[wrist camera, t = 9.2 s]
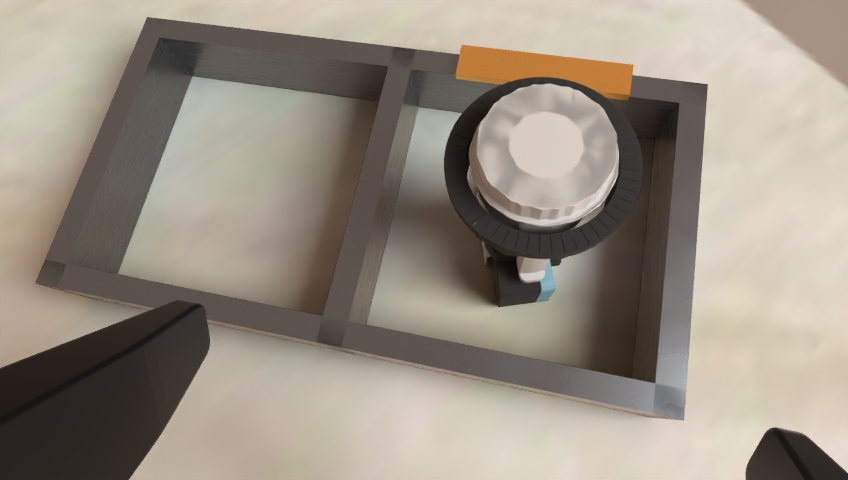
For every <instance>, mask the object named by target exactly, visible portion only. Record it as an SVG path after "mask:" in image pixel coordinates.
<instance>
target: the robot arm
mask: <svg viewBox="0 0 848 480" xmlns="http://www.w3.org/2000/svg"><path fill="white" fill-rule="evenodd" d="M209 346H210V337H209V330H208V324H207V317H206V311H205V308H204V306H203V305H202V304H200V303H197V302H192V301H188V300H181V299H180V300H175V301H173V302H170V303H167V304H165V305H162V306H160V307H157V308H155V309H152V310H149V311H147V312H144V313H142V314H139V315H136V316H134V317H131V318H129V319H126V320H124V321H121V322H118V323H116V324H113V325H111V326H108V327H105V328H103V329H100V330H98V331H95V332H93V333H90V334H87V335H85V336H82V337H80V338H77V339H74V340H72V341H69V342H67V343H64V344H61V345H59V346H56V347H54V348H51V349H49V350H46V351H43V352H41V353H38V354H36V355H33V356H30V357H28V358H25V359H23V360H20V361H18V362H15V363H12V364H10V365H7V366H5V367H2V368H0V480H129V479H130V477H131V476H132V475H133V473H134V472H135V470H136V469H137V468H138V466H139V465H140V463H141V462H142V461H143V459H144V458H145V456H146V455H147V454H148V452H149V451H150V449H151V448H152V446H153V445H154V444H155V442H156V441H157V439H158V438H159V436H160V435H161V433H162V432H163V430H164V429H165V427H166V425H167V424H168V422H169V420H170V419H171V417H172V415H173V413H174V412H175V410H176V408H177V406H178V405H179V403H180V401H181V399H182V398H183V396H184V394H185V392H186V391H187V389H188V387H189V385H190V384H191V382H192V380H193V378H194V377H195V375H196V373H197V371H198V369H199V368H200V366H201V364H202V362H203V361H204V359H205V357H206V355H207V353H208V350H209ZM746 480H848V473H847V472H846V471H845V470H844V469H843V468H842V467H841V466H839V465H838V464H837V463H836V462H835V461H834V460H833V459H832V458H831V457H829V456H828V455H827V454H826V453H825V452H824V451H823V450H822V449H821V448H819V447H818V446H817V445H816V444H815V443H814V442H813V441H812V440H811V439H809V438H808V437H807V436H806V435H804V434H802V433H799V432H796V431H791V430H786V429H782V428H776V427H775V428H770V429H769V430H767V431H766V433H765V434H764V436H763V438H762V439H761V441H760V443H759V445H758V446H757V448H756V450H755V451H754V453H753V455H752V457H751V458H750V460H749V462H748V464H747V468H746Z"/></svg>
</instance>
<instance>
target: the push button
mask: <svg viewBox="0 0 848 480" xmlns="http://www.w3.org/2000/svg"><path fill="white" fill-rule="evenodd" d="M469 165H470V167H471V175H472V178H473V181H474V182H475V184H476V186H477V199H478V201H479V202H478V201H477V200H476V198H475V196H474V195H473V193H472V191H471V189H470V186H469V183H468V180H467V172H468V168H469ZM444 172H445V181H446V186H447V190H448V194H449V197H450V200H451V202H452V204H453V206H454V208H455V210H456V212H457V213H458V215H459V216H460V218H461V219H462V220H463V222H464V223H465V224H466V225H467V226H468V227H469V228H470V229H471V230H472V231H473V232H474V233H475V234H476V236H477V237H478V238H479V239H480V240H482V241H481V242H482V249H483V256H484V263H485V265H487V258H488V257H492V258H493V259H494V267H495V293H496V299H497V305H498V307H503V306H510V305H518V304H526V303H534V302H541V301H548V300H549V298H550V296H551V295H552V293H553V292H554V290H555V285H554V279H553V273H552V268H551V266H558V265H560V263H561V259H563V258H565V257H568V256H572V255H575V254H578V253H581V252H584V251H586V250H588V249H590V248H592V247H594V246H596V245H598V244H599V243H601V242H603V241H604V240H605V239H606V238H608V237H609V236H610V235H611V234H612V233H613V232H614V231H615V230H617V229H618V227H619V226H620V225H621V224H622V223H623V221H624V220H625V219H626V218H627V216H628V215H629V213H630V212H631V210H632V208H633V207H634V205H635V203H636V200H637V198H638V195H639V192H640V189H641V185H642V180H643V157H642V151H641V147H640V144H639V141H638V138H637V136H636V133H635V131H634V129H633V128H632V126H631V124H630V123H629V121H628V120H627V118H626V117H625V115H624V114H623V113H622V112H621V111H620V110H619V109H618V108H617V107H616V106H615V105H614V104H613V103H612V102H611V101H610V100H608V99H607V98H606V97H604V96H603V95H601V94H600V93H598V92H596V91H595V90H593V89H591V88H589V87H587V86H584V85H582V84H579V83H576V82H573V81H569V80H566V79H560V78H552V77H531V78H523V79H518V80H514V81H511V82H507V83H504V84H502V85H499V86H497V87H495V88H493V89H491V90H489V91H488V92H486V93H484V94H483V95H481V96H480V97H479V98H477V99H476V100H475V101H474V102H473V103H471V104H470V105H469V106H468V107H467V108H466V110H465V111H464V112H463V113H462V114H461V116H460V117H459V119H458V120H457V122H456V123H455V125H454V127H453V129H452V131H451V133H450V136H449V138H448V141H447V145H446V149H445V156H444ZM606 197H607V198H606ZM605 199H606V202H605V206H604V209H603V210H602V211H601V212H600V213H599V214H598V215H597V216H596V217H595V218H593V219H592V220H590V221H589V222H587V223H586V224H584V225H582V226H580V227H578V228H576V227H577V226H578V225H579V224H580V222H581V221H582V220H583V219H584V218H585V216H586V215H587V214H588V213H589V212H591V211H592V210H594V209H595V208H597V207H598V206H600V205H601V204H602V203H603V201H604V200H605ZM479 203H480V204H479Z"/></svg>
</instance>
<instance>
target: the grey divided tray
mask: <svg viewBox="0 0 848 480" xmlns="http://www.w3.org/2000/svg"><path fill="white" fill-rule="evenodd" d="M632 73H633V65H630V64H621V63H613V62H604V61H595V60H587V59H578V58H570V57H561V56H553V55H544V54H536V53H527V52H518V51H510V50H501V49H493V48H484V47H476V46H467V45H462V47H461V52H460V55H458V54H450V53H442V52H433V51H425V50H417V49H408V48H400V47H392V46H383V45H375V44H367V43H358V42H350V41H341V40H333V39H325V38H316V37H308V36H300V35H291V34H283V33H275V32H266V31H258V30H250V29H241V28H233V27H225V26H216V25H208V24H200V23H191V22H183V21H175V20H166V19H158V18H150V17H147V19H146V22H145V24H144V26H143V29H142V31H141V34H140V36H139V38H138V41H137V43H136V45H135V48H134V50H133V53H132V55H131V57H130V60H129V62H128V64H127V67H126V69H125V72H124V74H123V76H122V79H121V81H120V83H119V86H118V88H117V91H116V93H115V95H114V98H113V100H112V102H111V105H110V107H109V110H108V112H107V114H106V117H105V119H104V121H103V124H102V126H101V129H100V131H99V133H98V136H97V138H96V140H95V143H94V145H93V148H92V150H91V152H90V155H89V157H88V159H87V162H86V164H85V167H84V169H83V171H82V174H81V176H80V178H79V181H78V183H77V186H76V188H75V190H74V193H73V195H72V197H71V200H70V202H69V205H68V207H67V209H66V212H65V214H64V216H63V219H62V221H61V224H60V226H59V228H58V231H57V233H56V235H55V238H54V240H53V243H52V245H51V247H50V250H49V252H48V254H47V257H46V259H45V262H44V264H43V266H42V269H41V271H40V273H39V276H38V278H37V281H36V284H40V285H44V286H47V287H51V288H55V289H58V290H62V291H66V292H69V293H73V294H76V295H80V296H84V297H87V298H92V299H97V300H102V301H106V302H111V303H116V304H120V305H125V306H130V307H135V308H139V309H144V310H152V309H155V308H157V307H160V306H162V305H165V304H167V303H170V302H173V301H175V300H180V299H181V300H188V301H192V302H197V303H200V304H202V305H203V306H204V308H205V311H206V317H207V323H210V324H215V325H219V326H224V327H229V328H234V329H238V330H243V331H248V332H252V333H257V334H262V335H267V336H271V337H276V338H281V339H285V340H290V341H295V342H300V343H304V344H309V345H314V346H318V347H323V348H328V349H333V350H337V351H342V352H347V353H351V354H356V355H361V356H366V357H370V358H375V359H380V360H384V361H389V362H394V363H399V364H403V365H408V366H413V367H417V368H422V369H427V370H432V371H436V372H441V373H446V374H450V375H455V376H460V377H465V378H469V379H474V380H479V381H483V382H488V383H493V384H498V385H502V386H507V387H512V388H516V389H521V390H526V391H531V392H535V393H540V394H545V395H549V396H554V397H559V398H563V399H568V400H573V401H578V402H582V403H587V404H592V405H596V406H601V407H606V408H611V409H615V410H620V411H625V412H629V413H634V414H639V415H644V416H648V417H653V418H663V419H676V420H684V413H685V398H686V384H687V370H688V356H689V342H690V327H691V313H692V299H693V285H694V271H695V257H696V242H697V228H698V214H699V200H700V186H701V171H702V157H703V143H704V129H705V115H706V101H707V86H708V84H700V83H692V82H684V81H675V80H667V79H659V78H650V77H642V76H634V75H632ZM192 76H198V77H205V78H213V79H220V80H227V81H235V82H242V83H249V84H257V85H264V86H271V87H279V88H286V89H294V90H301V91H308V92H316V93H323V94H330V95H338V96H345V97H352V98H360V99H367V100H374V101H379V104H378V108H377V112H376V116H375V120H374V123H373V127H372V131H371V135H370V139H369V142H368V146H367V150H366V154H365V158H364V161H363V165H362V169H361V173H360V177H359V180H358V184H357V188H356V192H355V196H354V199H353V203H352V207H351V211H350V215H349V218H348V222H347V226H346V230H345V233H344V237H343V241H342V245H341V249H340V252H339V256H338V260H337V264H336V268H335V271H334V275H333V279H332V283H331V287H330V290H329V294H328V298H327V302H326V306H325V309H324V313H323V316H321V315H316V314H311V313H306V312H301V311H296V310H291V309H286V308H281V307H276V306H271V305H266V304H261V303H257V302H252V301H247V300H242V299H237V298H232V297H227V296H222V295H217V294H212V293H207V292H202V291H197V290H192V289H188V288H183V287H178V286H173V285H168V284H163V283H158V282H153V281H148V280H143V279H138V278H133V277H128V276H123V275H118V274H117V273H118V270H119V268H120V265H121V262H122V260H123V257H124V255H125V252H126V249H127V247H128V244H129V241H130V239H131V236H132V233H133V231H134V228H135V226H136V223H137V220H138V218H139V215H140V212H141V210H142V207H143V204H144V202H145V199H146V197H147V194H148V191H149V189H150V186H151V183H152V181H153V178H154V175H155V173H156V170H157V168H158V165H159V162H160V160H161V157H162V154H163V152H164V149H165V146H166V144H167V141H168V139H169V136H170V133H171V131H172V128H173V125H174V123H175V120H176V117H177V115H178V112H179V110H180V107H181V104H182V102H183V99H184V96H185V94H186V91H187V88H188V86H189V83H190V81H191V78H192ZM531 77H552V78H560V79H566V80H569V81H573V82H576V83H579V84H582V85H584V86H587V87H589V88H591V89H593V90H595V91H596V92H598V93H600V94H601V95H603V96H604V97H606V98H607V99H608V100H610V101H611V102H612V103H613V104H614V105H615V106H616V107H617V108H618V109H619V110H620V111H621V112H622V113H623V114H624V115H625V117H626V118H627V120H628V121H629V123H630V124H631V126H632V128H633V129H634V131H635V133H636V136H638V137H646V138H653V139H655V148H654V158H653V168H652V178H651V188H650V199H649V209H648V219H647V229H646V239H645V249H644V259H643V270H642V280H641V290H640V300H639V310H638V320H637V331H636V341H635V351H634V361H633V371H632V379H631V378H626V377H622V376H617V375H612V374H607V373H602V372H597V371H592V370H587V369H582V368H577V367H572V366H567V365H562V364H557V363H552V362H548V361H543V360H538V359H533V358H528V357H523V356H518V355H513V354H508V353H503V352H498V351H493V350H488V349H483V348H479V347H474V346H469V345H464V344H459V343H454V342H449V341H444V340H439V339H434V338H429V337H424V336H419V335H414V334H409V333H405V332H400V331H395V330H390V329H385V328H380V327H375V326H370V325H366V323H367V319H368V315H369V310H370V306H371V302H372V298H373V294H374V290H375V285H376V281H377V277H378V273H379V269H380V265H381V260H382V256H383V252H384V248H385V244H386V239H387V235H388V231H389V227H390V223H391V219H392V214H393V210H394V206H395V202H396V198H397V194H398V189H399V185H400V181H401V177H402V173H403V169H404V164H405V160H406V156H407V152H408V148H409V144H410V139H411V135H412V131H413V127H414V123H415V118H416V114H417V110H418V107H426V108H433V109H440V110H448V111H455V112H462V113H463V112H464V111H465V110H466V108H467V107H468V106H469V105H470V104H471V103H473V102H474V101H475V100H476V99H477V98H479V97H480V96H481V95H483V94H484V93H486V92H488V91H489V90H491V89H493V88H495V87H497V86H499V85H502V84H504V83H507V82H511V81H514V80H518V79H523V78H531Z"/></svg>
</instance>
